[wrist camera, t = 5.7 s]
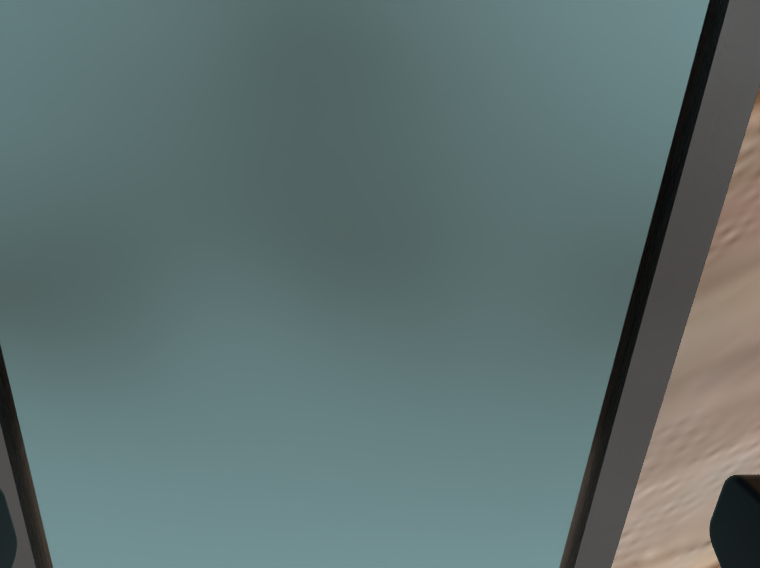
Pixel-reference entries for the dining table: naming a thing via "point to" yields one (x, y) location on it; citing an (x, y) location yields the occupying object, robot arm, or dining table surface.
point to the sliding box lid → (323, 269)
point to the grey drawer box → (644, 315)
